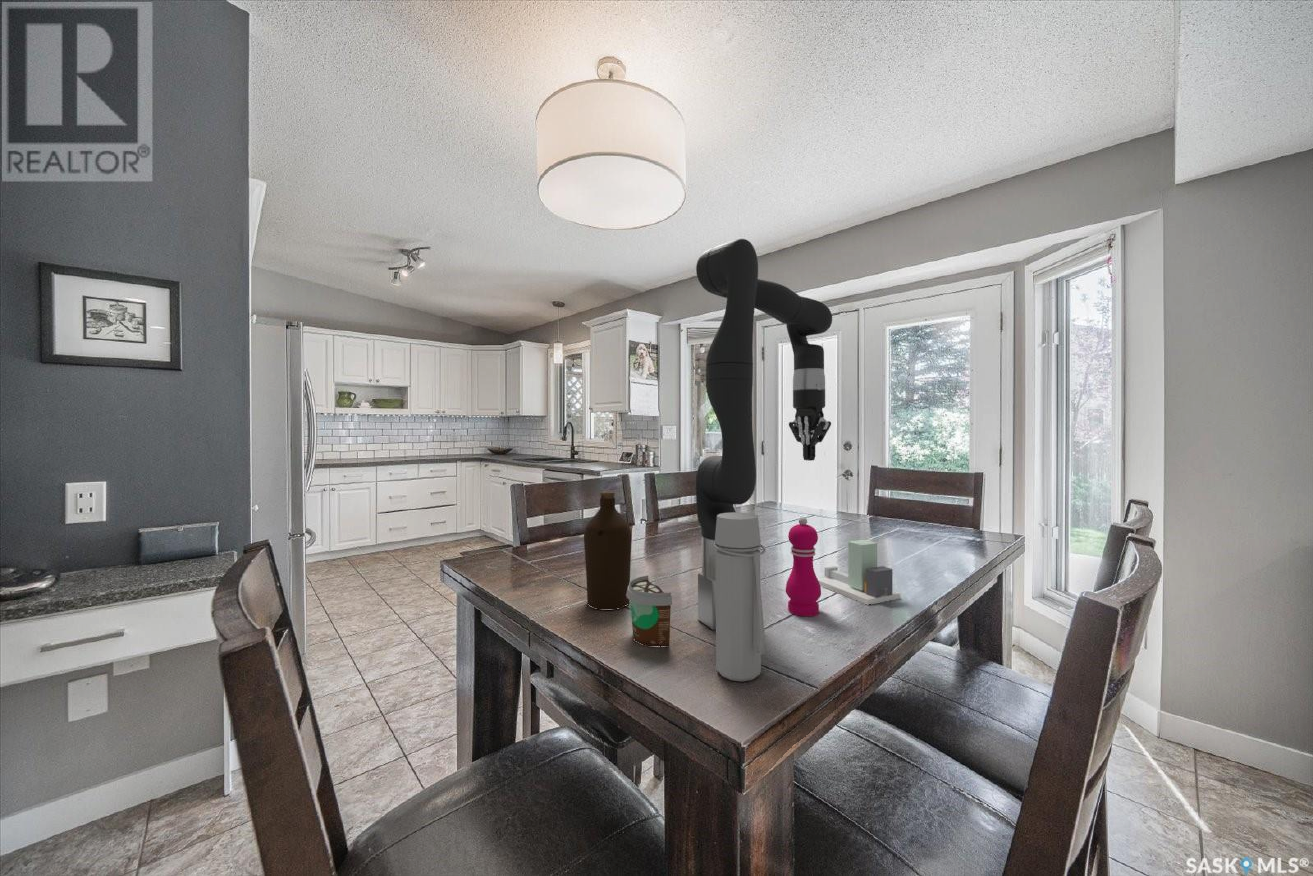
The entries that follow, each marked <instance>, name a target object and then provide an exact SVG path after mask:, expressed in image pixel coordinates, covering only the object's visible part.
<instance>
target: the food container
mask: <svg viewBox="0 0 1313 876" xmlns="http://www.w3.org/2000/svg"><path fill="white" fill-rule="evenodd" d="M649 578H650V577H649V575H643V576H638V577H636V578H633V579H631V580H630V583H629V586H628V589H627V594H626V597H627V598H628V599H629V600H630V602H629V605H630V616H631V617H630V618H631V626H632V628H631V629H632V639H633V638H634V639H635V641H637V642H639V643H641V644H643V645H646V646H660V647H661V646H669V647H670V639H671V638H670V637H671V636H670V635H671V606H673V596H672V592H664V591H663V590H662V588H661V587H659V586H658V585H656V584H654V583H653V582H651V581H650V579H649ZM635 641H634V642H635ZM643 645H642V646H643ZM646 646H645V647H646ZM661 648H662V647H661Z"/></svg>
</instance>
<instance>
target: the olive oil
mask: <svg viewBox="0 0 1313 876" xmlns="http://www.w3.org/2000/svg"><path fill="white" fill-rule="evenodd" d="M599 493H600V494H599V495H600V497H599V506H600V507H599V509H598V511H597V512H596V513H595V514H594V515H593V516H592V517H591V519H589V521H588V522H587V524H586V526H585V529H584V532H583V546H584V561H585V576H586V578H585V579H586V601H587V603H586V604H587V605H588V604H589V605H590V606H592V607H594V608H597V609H617V608H621V607H623V606H625V605H627V604H628V605H630V600H629V599H628V598H627V597H626V594H627V589H628V586H629V583H630V581H631V565H632V564H631V562H632V560H631V559H632V541H633V540H632V539H633V538H632V537H633V535H632V530H631V526H630V524H629V522H628V521H627V520H626V518H625V517H623V515H622V514H620V512H619V511H618V510H617V509H616V497H615V495H616V494H615V493H616V492H615V491H613V490H605V491H601V492H599ZM628 605H627V606H628ZM621 609H622V608H621ZM617 610H618V609H617Z"/></svg>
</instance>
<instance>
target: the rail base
mask: <svg viewBox="0 0 1313 876" xmlns="http://www.w3.org/2000/svg"><path fill="white" fill-rule="evenodd" d="M817 579H818V581H819V584H820V587H821V586H823V587H822V588H824V587H825V589H826V588H827V589H826V590H829V591H831V592H834V591H835V592H834V593H837V594H839V595H842V596H844V595H845V597H846V596H847V597H846V598H849V599H852V600H854V601H856V600H857V602H858V603H861V604H864V605H866V604H867V605H866V606H869V604H871V605H874V604H879V603H885V601H886V602H889V601H890V600H891V601H896V600H900V599H901V596H902V595H901V593H900V592H897V591H895V590H893V568H891V567H887V566H883V565H882V566H877V567H874V568H868V569H866V581H864V590H862V591H861V590H859V589H856V588H853V587H851V586H848V573H846V572H844V571H840V570H839V567H838V566H835V565H833V566H831V565H830V566H825V567H824V576H823V577H817Z"/></svg>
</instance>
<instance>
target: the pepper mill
mask: <svg viewBox="0 0 1313 876" xmlns="http://www.w3.org/2000/svg"><path fill="white" fill-rule="evenodd" d="M787 537H788V541H789V543H790V544H791V546H790V550H791V551H790V554H791V555H792V557H793V559H792V560H793V561H792V564H793V565H792V568H791V572H790V574H789V577H788V578H787V580H786V584H785V593H786V595H787V597H788V598H789V600H788V601H787V610H788V612H789V613H791V614H792V615H795V616H799V617H814V616H817V615H818V614H819V613H820V607H819V606H820V604H819V603H818V600H819V599H820V598H821V596H822V587H821V586H820V584H819V581H818V579H817V578H818V577H817V575H816V572H815V568H814V556H816V548H815V545H817V543H818V540H819V535H818V532H817V530H816V529H815V528H814V527H813V526H811V525H809V524H808V519H807V517H805V516H801V517H799V518H798V524H795V525H793V526H792V527H791V528H790V529H789V531H788V536H787Z"/></svg>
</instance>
